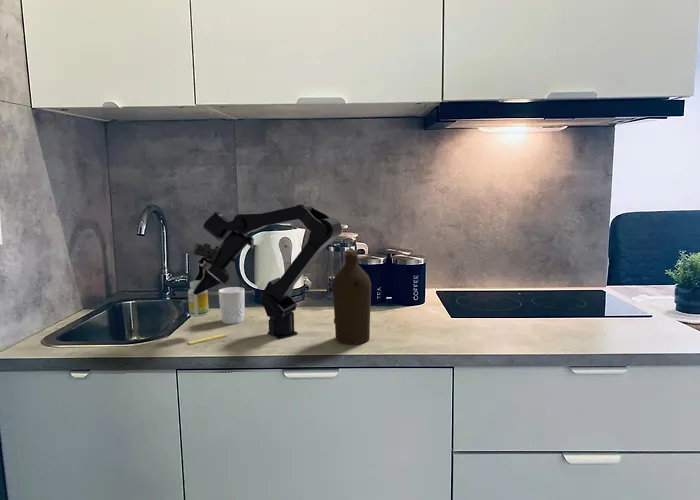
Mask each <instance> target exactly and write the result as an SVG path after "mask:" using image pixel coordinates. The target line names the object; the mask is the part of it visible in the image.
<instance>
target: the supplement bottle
mask: <svg viewBox="0 0 700 500" xmlns="http://www.w3.org/2000/svg"><path fill="white" fill-rule="evenodd" d="M199 282H200V280H196V281H194V280H192V281H190V282H189V289H188V291H187V299H188V300H187V301H188V314H189V316H190V317H192V318H193V317H194V318H198V317H204V316H207V315H208V314H209V313H210V312H209V311H210V310H209V296H208V292H209V291H208V289H207V290H205V291H203V292H201V293H199V294H197V295H195V294H194V293H193V291H194V290H195V288H196V287H197V285H198V283H199ZM190 287H191V289H190Z"/></svg>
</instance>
